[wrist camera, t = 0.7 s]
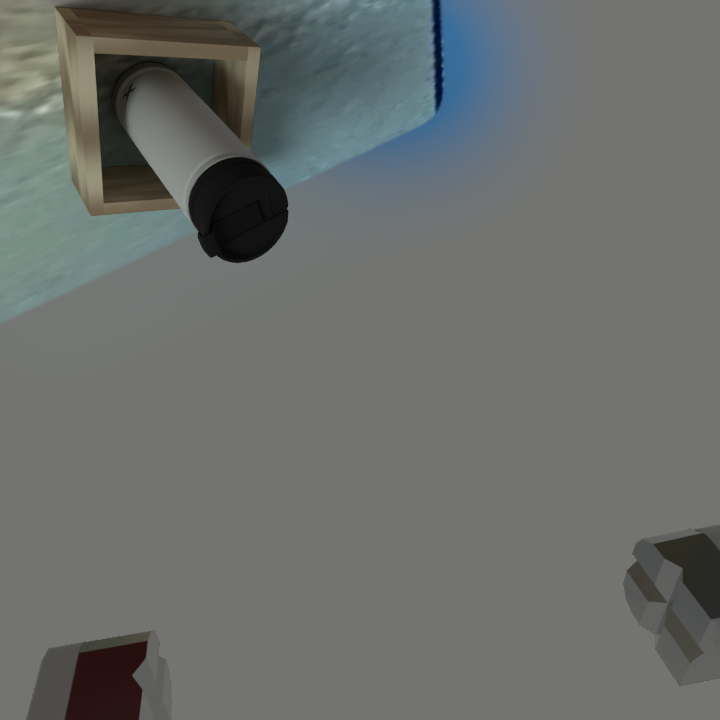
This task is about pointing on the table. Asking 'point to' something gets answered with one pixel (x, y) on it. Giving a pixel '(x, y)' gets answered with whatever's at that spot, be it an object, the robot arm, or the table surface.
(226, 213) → the travel mug
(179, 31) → the open wooden box frame
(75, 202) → the table surface
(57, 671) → the robot arm
